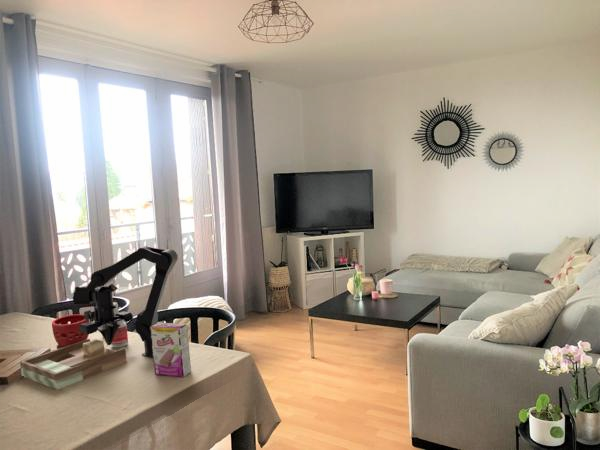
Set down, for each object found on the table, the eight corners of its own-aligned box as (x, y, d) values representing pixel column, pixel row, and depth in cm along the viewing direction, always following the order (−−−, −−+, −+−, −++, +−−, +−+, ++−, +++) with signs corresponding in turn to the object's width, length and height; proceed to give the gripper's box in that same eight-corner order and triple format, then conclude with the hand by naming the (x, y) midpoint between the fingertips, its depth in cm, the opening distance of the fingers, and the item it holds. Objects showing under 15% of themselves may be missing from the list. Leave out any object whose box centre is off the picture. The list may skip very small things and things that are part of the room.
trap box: (126, 362, 175) (125, 348, 174) (57, 389, 155) (55, 374, 154) (89, 351, 188) (88, 338, 188) (21, 375, 168) (20, 361, 168)
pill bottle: (131, 344, 193) (128, 316, 192) (115, 349, 189) (112, 320, 188) (124, 341, 198) (121, 314, 197) (109, 345, 194) (106, 318, 193)
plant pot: (47, 353, 189) (43, 322, 188) (74, 341, 201) (71, 312, 200) (73, 356, 184) (69, 324, 183) (99, 344, 196) (96, 314, 195)
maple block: (104, 352, 178) (103, 341, 177) (91, 356, 174) (90, 345, 173) (96, 349, 181) (95, 339, 180) (83, 354, 177) (82, 343, 176)
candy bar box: (153, 375, 161) (149, 326, 159) (162, 369, 166) (158, 321, 164) (183, 378, 158) (179, 328, 156) (192, 371, 162) (187, 323, 160)
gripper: (114, 295, 192) (118, 334, 194) (68, 307, 178) (73, 349, 179) (131, 298, 186) (136, 338, 188) (85, 311, 171) (90, 354, 173)
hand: (109, 345), depth 182 cm, fingers closed
